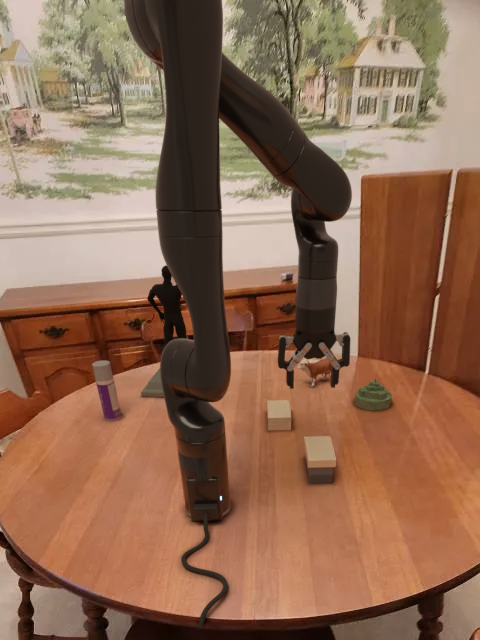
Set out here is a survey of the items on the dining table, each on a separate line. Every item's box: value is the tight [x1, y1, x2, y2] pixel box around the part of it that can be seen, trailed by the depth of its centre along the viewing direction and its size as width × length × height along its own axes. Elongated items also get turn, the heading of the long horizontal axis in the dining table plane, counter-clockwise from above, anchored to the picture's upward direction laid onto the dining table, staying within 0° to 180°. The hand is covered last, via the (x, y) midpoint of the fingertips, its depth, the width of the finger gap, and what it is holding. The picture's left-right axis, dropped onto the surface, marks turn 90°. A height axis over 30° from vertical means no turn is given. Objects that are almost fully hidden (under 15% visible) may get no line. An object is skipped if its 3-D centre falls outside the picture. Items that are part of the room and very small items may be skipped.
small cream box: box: [266, 399, 292, 432], centre depth 130 cm, size 11×6×4 cm, turn 0°
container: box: [91, 359, 122, 422], centre depth 131 cm, size 5×5×15 cm
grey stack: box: [304, 454, 334, 485], centre depth 110 cm, size 11×5×4 cm, turn 0°
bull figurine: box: [297, 357, 333, 388], centre depth 149 cm, size 4×13×8 cm, turn 115°
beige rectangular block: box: [303, 435, 337, 468], centre depth 108 cm, size 11×6×2 cm, turn 0°
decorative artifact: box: [354, 378, 393, 412], centre depth 137 cm, size 10×7×10 cm
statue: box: [140, 264, 187, 398], centre depth 142 cm, size 20×19×36 cm
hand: (312, 386), depth 102 cm, fingers open, 8 cm apart
